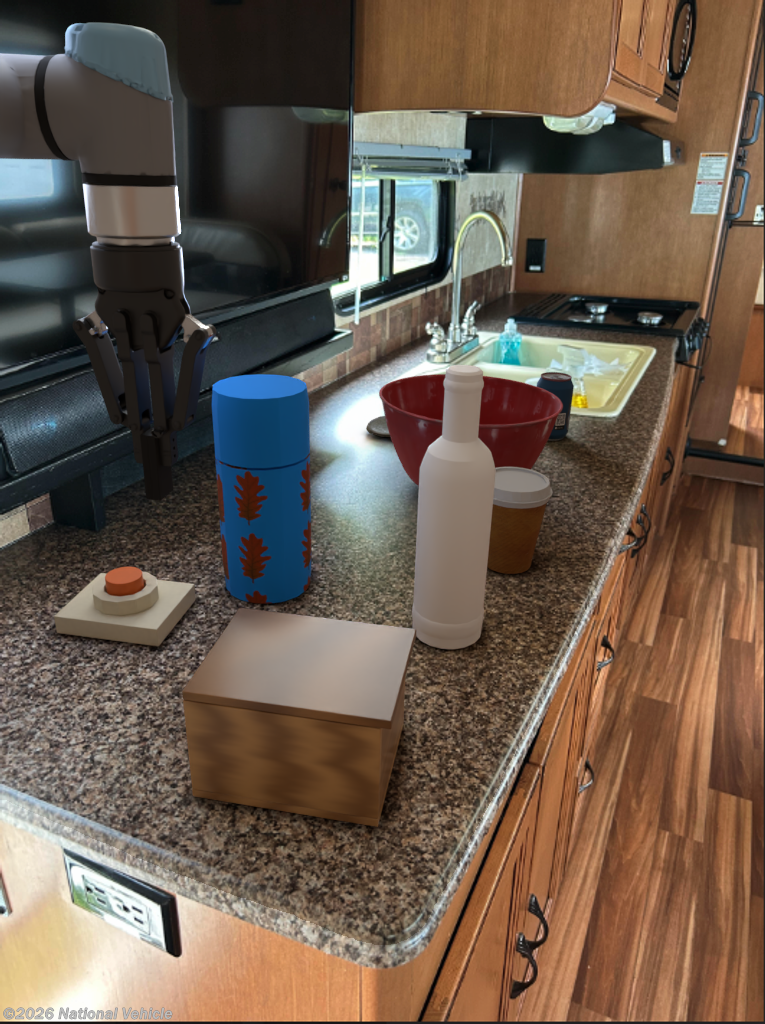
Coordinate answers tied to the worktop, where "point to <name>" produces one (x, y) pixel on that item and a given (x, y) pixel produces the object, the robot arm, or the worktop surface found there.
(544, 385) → the soda can
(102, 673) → the worktop surface
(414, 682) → the worktop surface
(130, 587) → the button
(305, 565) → the thermos
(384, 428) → the lid
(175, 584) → the control block
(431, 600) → the bottle
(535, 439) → the mixing bowl
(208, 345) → the robot arm
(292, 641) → the wooden box lid
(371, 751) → the wooden box
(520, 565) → the disposable coffee cup
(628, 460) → the worktop surface
